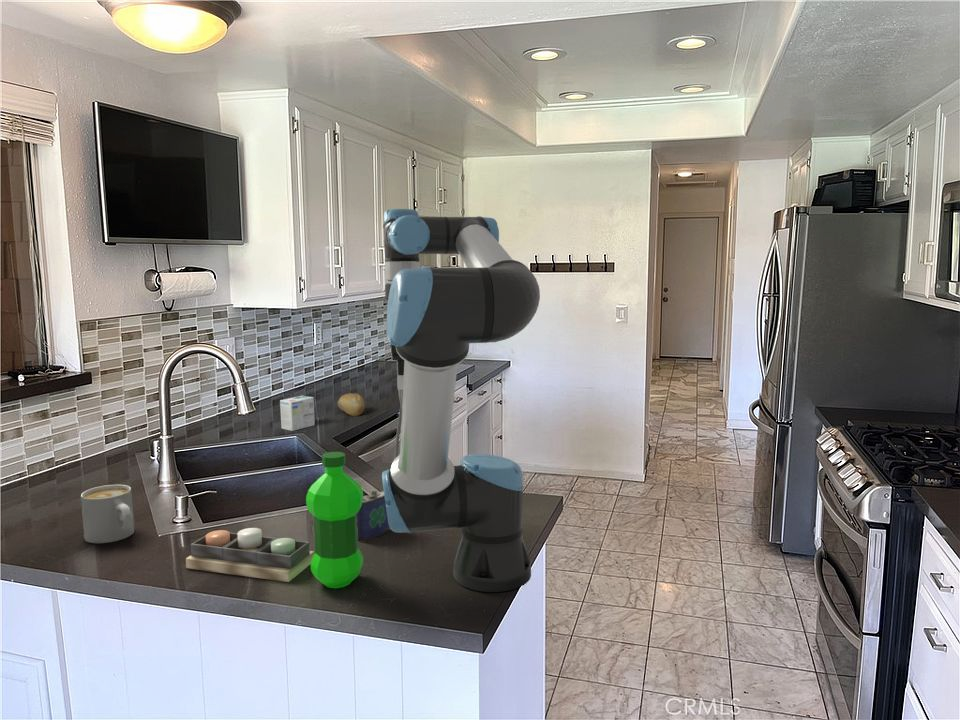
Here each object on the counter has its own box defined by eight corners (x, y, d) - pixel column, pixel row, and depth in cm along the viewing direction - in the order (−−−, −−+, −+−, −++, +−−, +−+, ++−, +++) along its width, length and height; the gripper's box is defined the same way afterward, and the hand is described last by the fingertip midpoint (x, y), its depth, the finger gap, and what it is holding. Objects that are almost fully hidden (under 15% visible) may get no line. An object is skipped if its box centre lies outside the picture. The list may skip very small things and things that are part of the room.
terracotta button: (235, 543, 145) (234, 531, 145) (221, 551, 141) (220, 539, 140) (215, 540, 146) (215, 529, 146) (201, 549, 142) (200, 537, 142)
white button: (266, 540, 143) (266, 529, 143) (253, 549, 139) (252, 537, 138) (246, 538, 144) (246, 526, 144) (233, 547, 140) (232, 535, 139)
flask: (384, 527, 161) (383, 482, 160) (393, 530, 160) (392, 485, 158) (354, 540, 154) (353, 493, 152) (364, 544, 152) (362, 496, 151)
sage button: (299, 551, 141) (299, 539, 141) (287, 560, 137) (287, 548, 136) (279, 548, 142) (279, 536, 142) (266, 557, 138) (266, 545, 138)
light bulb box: (303, 423, 264) (302, 394, 262) (315, 425, 260) (314, 396, 258) (280, 428, 255) (279, 399, 254) (292, 431, 251) (291, 401, 250)
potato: (355, 408, 290) (354, 389, 288) (370, 415, 277) (369, 395, 276) (333, 411, 284) (332, 391, 283) (347, 418, 272) (346, 398, 271)
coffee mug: (78, 534, 158) (74, 491, 156) (125, 522, 165) (122, 481, 163) (97, 552, 148) (93, 506, 147) (146, 538, 155) (143, 495, 154)
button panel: (314, 560, 144) (313, 539, 143) (288, 582, 134) (287, 559, 133) (217, 548, 150) (216, 528, 149) (186, 568, 140) (184, 546, 140)
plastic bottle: (326, 567, 140) (321, 445, 137) (374, 574, 137) (371, 450, 134) (299, 590, 131) (293, 459, 127) (350, 597, 128) (346, 464, 124)
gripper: (397, 281, 160) (399, 383, 163) (374, 283, 147) (376, 393, 151) (429, 281, 158) (430, 384, 161) (407, 283, 145) (409, 395, 149)
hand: (404, 389), depth 156 cm, fingers closed
